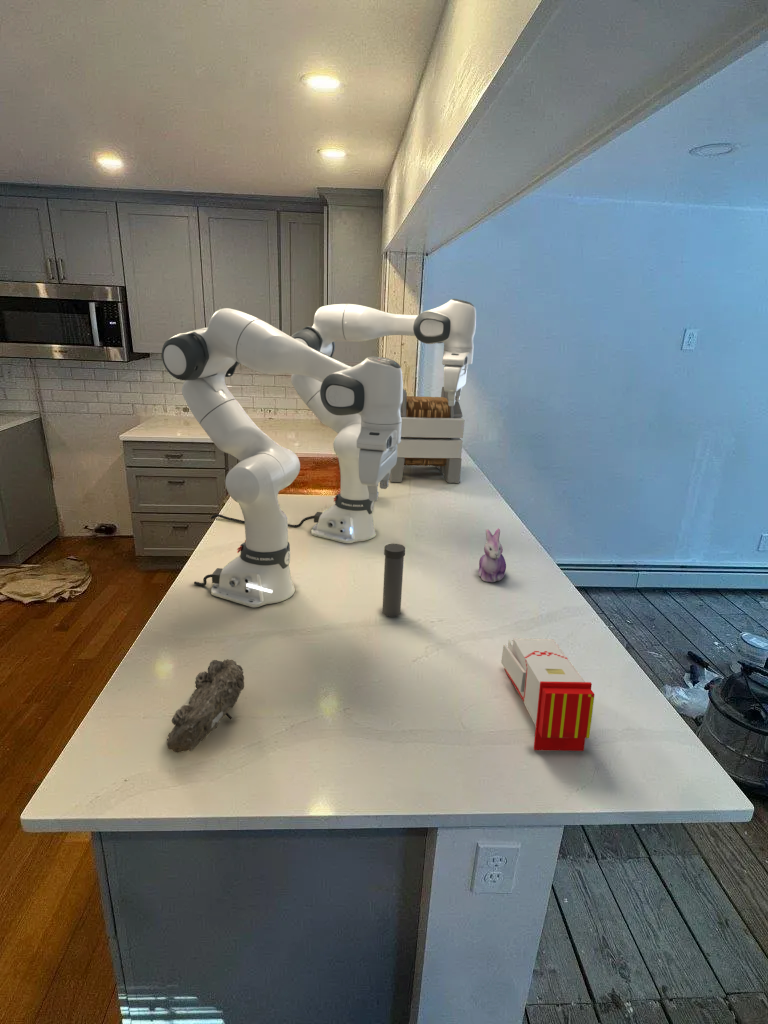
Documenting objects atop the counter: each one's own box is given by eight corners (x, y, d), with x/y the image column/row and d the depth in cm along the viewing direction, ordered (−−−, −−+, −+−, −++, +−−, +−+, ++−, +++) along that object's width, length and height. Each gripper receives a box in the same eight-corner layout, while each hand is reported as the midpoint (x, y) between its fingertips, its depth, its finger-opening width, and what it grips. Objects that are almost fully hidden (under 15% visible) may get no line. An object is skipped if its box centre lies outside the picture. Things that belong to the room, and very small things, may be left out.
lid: (379, 552, 143) (380, 545, 143) (397, 548, 146) (397, 542, 145) (391, 560, 139) (392, 553, 139) (409, 556, 142) (409, 549, 141)
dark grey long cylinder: (378, 610, 149) (381, 547, 143) (393, 606, 151) (397, 544, 145) (388, 618, 145) (392, 554, 139) (403, 613, 148) (407, 550, 142)
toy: (549, 621, 128) (604, 690, 99) (544, 676, 131) (595, 758, 101) (496, 620, 128) (535, 688, 98) (492, 675, 130) (528, 757, 101)
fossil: (192, 660, 117) (244, 628, 112) (224, 691, 120) (276, 661, 115) (142, 746, 98) (202, 712, 93) (182, 779, 101) (242, 748, 96)
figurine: (489, 586, 164) (495, 538, 159) (468, 571, 173) (473, 526, 168) (514, 580, 169) (521, 533, 163) (493, 566, 177) (498, 521, 172)
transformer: (382, 463, 289) (386, 382, 275) (445, 464, 293) (451, 384, 279) (390, 482, 257) (394, 392, 243) (460, 483, 261) (468, 394, 247)
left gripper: (378, 424, 134) (377, 480, 139) (353, 442, 116) (352, 506, 120) (404, 426, 133) (402, 482, 138) (383, 444, 114) (381, 509, 119)
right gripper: (453, 354, 180) (449, 398, 185) (441, 358, 161) (437, 407, 166) (473, 355, 178) (468, 399, 183) (463, 360, 160) (459, 409, 164)
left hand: (378, 493), depth 129 cm, fingers open, 8 cm apart
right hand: (454, 403), depth 174 cm, fingers open, 8 cm apart
